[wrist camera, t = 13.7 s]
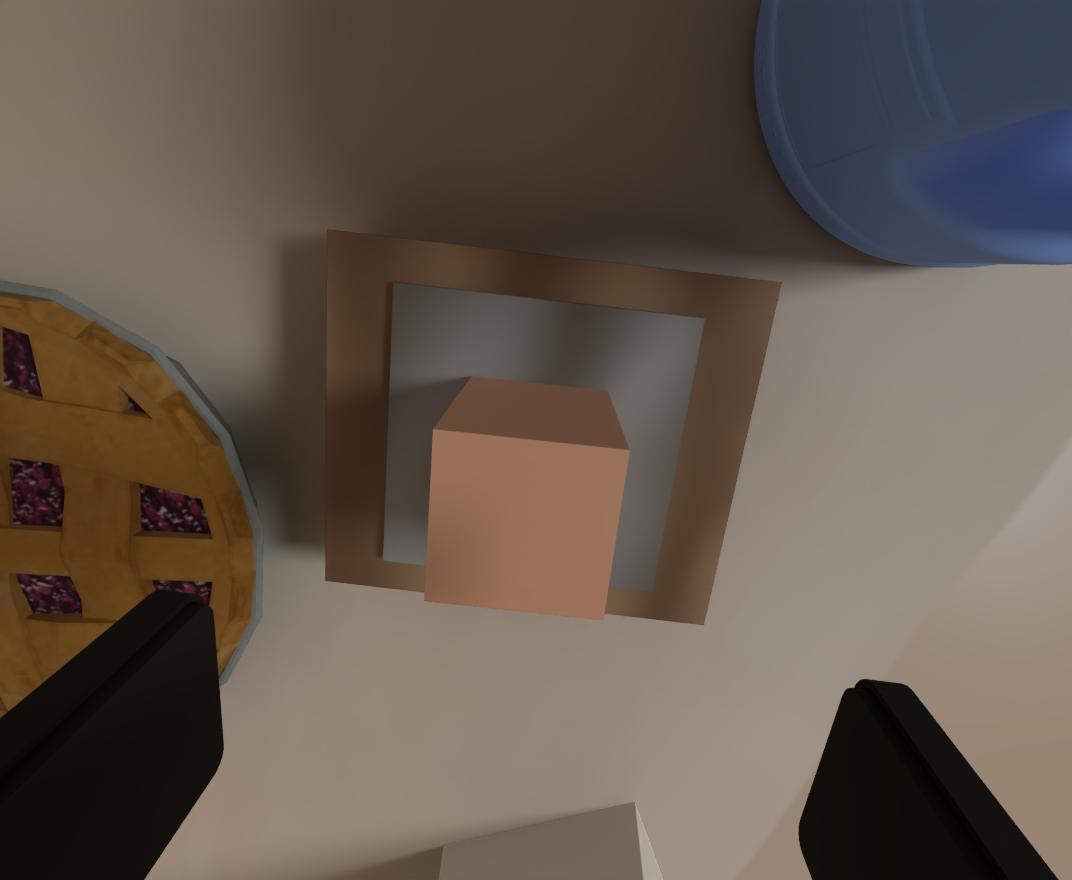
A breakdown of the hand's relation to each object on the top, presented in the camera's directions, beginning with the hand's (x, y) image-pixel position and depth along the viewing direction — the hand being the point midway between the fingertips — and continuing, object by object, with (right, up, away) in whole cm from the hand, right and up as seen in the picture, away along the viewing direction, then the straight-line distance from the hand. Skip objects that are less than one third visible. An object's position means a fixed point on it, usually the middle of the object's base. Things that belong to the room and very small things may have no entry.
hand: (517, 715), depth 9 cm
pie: (-22, +1, +20) cm, 30 cm away
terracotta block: (0, +4, +14) cm, 14 cm away
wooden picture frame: (0, +5, +18) cm, 19 cm away
